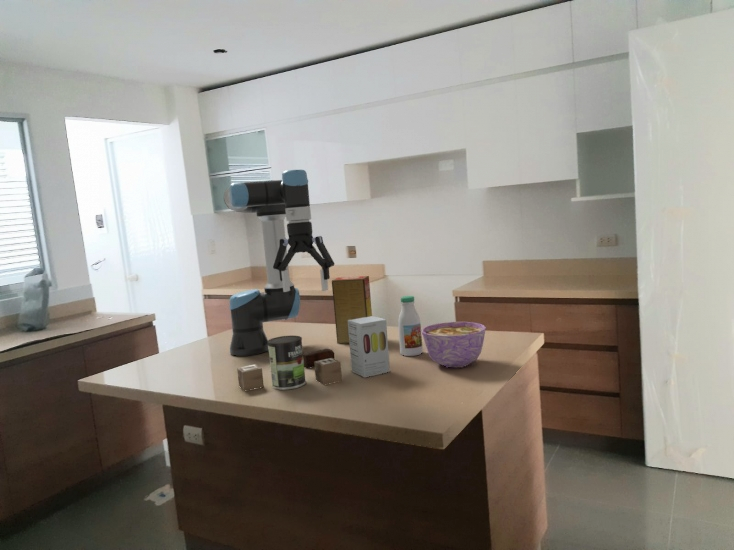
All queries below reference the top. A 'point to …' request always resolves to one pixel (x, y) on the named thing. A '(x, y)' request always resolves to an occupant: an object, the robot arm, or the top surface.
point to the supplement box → (368, 346)
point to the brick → (316, 357)
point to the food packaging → (350, 303)
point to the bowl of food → (454, 342)
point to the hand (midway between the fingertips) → (305, 291)
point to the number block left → (250, 377)
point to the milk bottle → (409, 328)
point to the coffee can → (286, 362)
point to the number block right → (328, 371)
